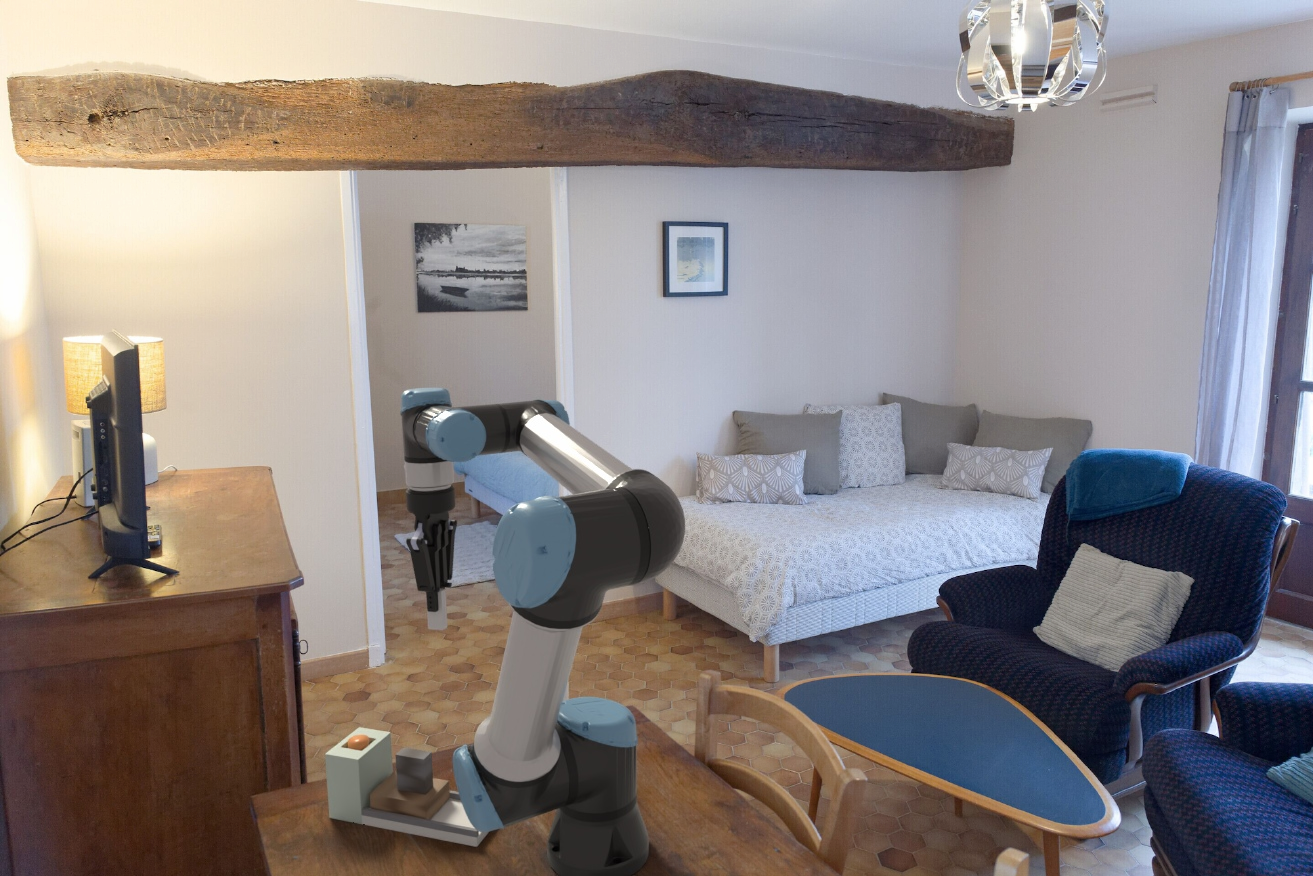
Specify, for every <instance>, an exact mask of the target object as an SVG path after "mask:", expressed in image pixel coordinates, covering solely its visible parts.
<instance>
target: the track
mask: <svg viewBox="0 0 1313 876" xmlns="http://www.w3.org/2000/svg"><path fill="white" fill-rule="evenodd" d="M449 791H450V798H449V799H448V800H447V801H446V802H445V803H444V805H443V806H442V807H441V808H440V809H439V810H438V811H437V812H436V813H435V814H434V815H433V816H432V817H431V818H430V820H428V819H422V818H417V817H412V816H407V815H402V814H396V813H391V812H386V811H381V810H375V809H371V807H370V808H365V807H364V808H363V809H362V824H361V825H363V824H365V825H364V826H367V827H368V826H369V827H373V828H378V829H379V828H380V829H383V830H389V831H393V832H399V833H404V834H409V835H415V836H420V837H426V838H430V839H435V840H441V841H445V842H450V843H456V844H460V845H465V846H471V847H476V848H477V847H478V846H480V844H481V842H483V840H484V839H485V838H486V836H487V835H488V834H489V832H490V831H489V832H480V831H478V830H476V829H475V828H474V827H473V825H472V824H471V823H470V821H469V819H468V817H467V815H466V813H465V810H464V808H463V805H462V802H461V799H460V796H459V793H458V791H456V790H451V789H449Z"/></svg>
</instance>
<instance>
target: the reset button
mask: <svg viewBox="0 0 1313 876" xmlns="http://www.w3.org/2000/svg"><path fill="white" fill-rule="evenodd" d="M368 745H369V737H368V736H366V735H356V736H353V737H351V738H349V739H348V749H354V750H360V751H362V750H364V749H365V748H366V747H367V746H368Z"/></svg>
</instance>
